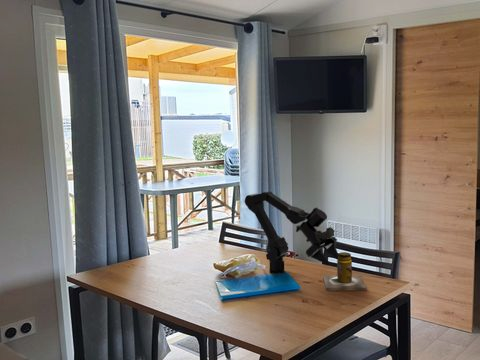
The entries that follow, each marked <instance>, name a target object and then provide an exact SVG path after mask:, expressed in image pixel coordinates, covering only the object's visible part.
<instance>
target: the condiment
mask: <svg viewBox="0 0 480 360" xmlns="http://www.w3.org/2000/svg"><path fill="white" fill-rule="evenodd" d="M351 256H352V255H351V253H350V252H344V251H343V252H339V253H338V260H337V259H336V260H337V261H336V262H337V263H336V266H337V267H336V269H337V270H336V271H337V272H336V274H337V278H335V279H330V280H331V281H332V282H334V283H335V284H336V285H338V284H350V283H355V282H354V281H352V275H353V263H352V262H353V261H352V257H351Z"/></svg>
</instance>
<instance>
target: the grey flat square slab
mask: <svg viewBox="0 0 480 360" xmlns="http://www.w3.org/2000/svg"><path fill="white" fill-rule="evenodd" d="M335 278H337V275H322V280H323V283H324V287H325V290H326V292H327V291H331V292H332V291H335V292H336V291H341V292H342V291H367V286H366V284H365V282H364V281H363V278H362V277H361V275H359V274H358V275H356V274H355V275H353V274H352V281H354V282H355V283H350V284H338V285H336V284H335V283H334V282H332V281H331V280H330V279H335Z"/></svg>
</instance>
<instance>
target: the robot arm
mask: <svg viewBox="0 0 480 360" xmlns="http://www.w3.org/2000/svg"><path fill="white" fill-rule="evenodd" d="M265 202H267V203H268V204H270V205H271V206H272V207H274V208H275V209H277V210H278V211H280V212H281V213H283V214H284V215H285V218H286V219H287V220H288V221H290V223H291V224H293V225H296V227H295V228H296V229H295V232H296V233H298V232H301V233H302V234H303V236H304V237H306V240H305V241H306V242H307V243H310V244H311V245H310V246H309V247H308V248H307V249H306V250H305V255H306V256H307V257H308V258H311V259H314V260H316V261H319V262H320V263H323V264H324V265H327V266H329V265H330V261H329V260H328V258H327V256H326V255H325V254H324V250H325V252H326V253H328V254H329V255H330V256H332V257H333V258H334V259H336V260H338V254H339V253H338V250H337V247H336V246H337V243H338V239H337V238H336V236H335V229H334V228H332V227H331V226H330V227H327V228H325V229H326V230H325V231H321V230H318V229H317V228H318V227H320V226H321V225H322V224H323V223H324V222H325V221H326V220H327V219H328V215H327V213H326V212H325V211H323V210H322V209H320V208H318V207H314V208H313V209H312V211H311V212H307V211H305V210H304V209H302V208H301V207H298V206H292V205H291V204H289V203H287V202H286V201H285V200H283V199H281V198H280V197H279V196H277V195H276V194H274V193H273V192H272V191H270V190H267V191H263V192H262V193H261V192H260V193H251V194H248V195H246V197H244V205H245V206H246V207H247V209H248V210H249V211H250V212H252V213H253V214H254V215H255V218H256V219H257V222H259V224H260V226H261V228H262V230H263V232H264V234H265V236H266V237H267V240H268V248H269V251H268V252H267V253H266V255H265V256H266V260H267V261H268V262H269V269H268V270H269V273H270V274H273V273H274V274H282V273H283V274H284V271H285V260H284V258H285V257H286V255H287V253H288V251H289V246H288V245H289V243H288V242H287V240H286V238H285V237H284V236H281V237H280V235H278V232H277V231H276V229H275V228H274V225H273V224H272V222H271V220H270V217H269V216H268V214H267V213H266V211H265V207H264V206H265V205H264V203H265ZM297 224H298V225H297Z"/></svg>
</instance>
